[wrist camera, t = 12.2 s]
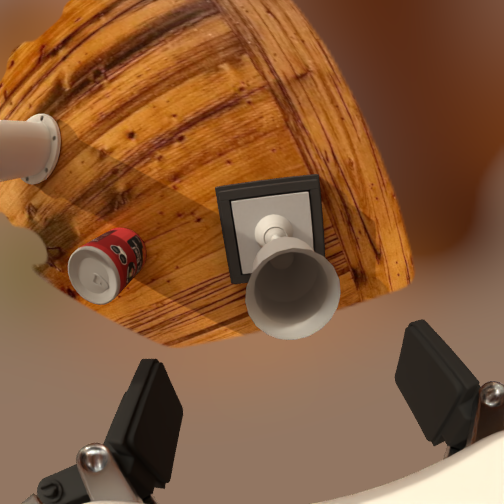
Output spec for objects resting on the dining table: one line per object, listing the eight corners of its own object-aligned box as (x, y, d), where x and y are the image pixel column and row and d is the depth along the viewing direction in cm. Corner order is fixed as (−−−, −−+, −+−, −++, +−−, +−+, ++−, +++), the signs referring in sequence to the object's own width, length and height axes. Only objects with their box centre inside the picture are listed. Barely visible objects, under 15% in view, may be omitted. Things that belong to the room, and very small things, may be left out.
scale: (232, 279, 42) (230, 288, 39) (216, 186, 37) (213, 188, 34) (323, 267, 41) (328, 275, 38) (316, 174, 37) (321, 175, 34)
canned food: (144, 278, 42) (116, 313, 31) (102, 264, 41) (67, 293, 30) (151, 233, 39) (121, 258, 29) (107, 220, 39) (67, 240, 28)
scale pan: (242, 270, 39) (242, 274, 38) (231, 200, 36) (231, 201, 35) (312, 260, 39) (314, 264, 38) (306, 190, 36) (308, 191, 34)
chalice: (300, 258, 37) (336, 335, 20) (250, 261, 37) (249, 343, 20) (298, 204, 35) (342, 244, 18) (246, 207, 35) (240, 251, 18)
